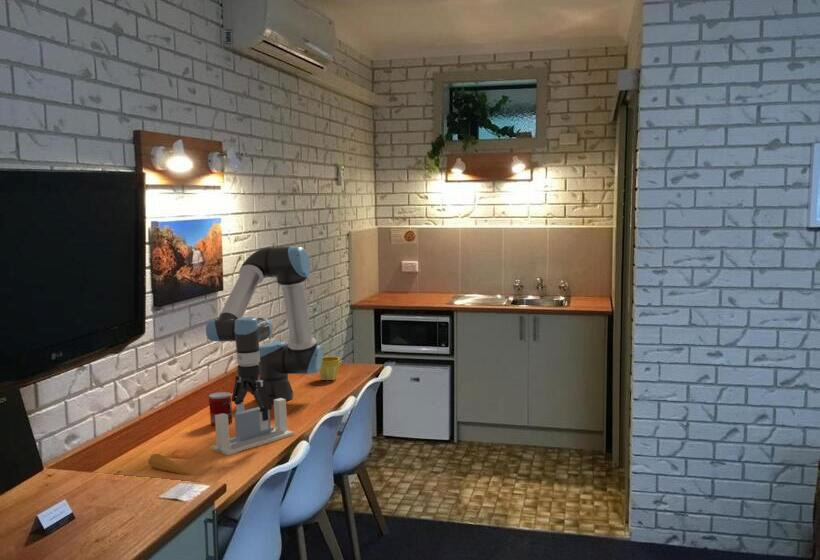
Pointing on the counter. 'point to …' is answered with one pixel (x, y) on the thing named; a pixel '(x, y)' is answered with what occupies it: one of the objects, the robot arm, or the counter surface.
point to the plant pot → (329, 368)
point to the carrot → (166, 465)
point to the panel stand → (231, 446)
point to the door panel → (249, 424)
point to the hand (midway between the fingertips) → (252, 426)
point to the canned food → (220, 405)
